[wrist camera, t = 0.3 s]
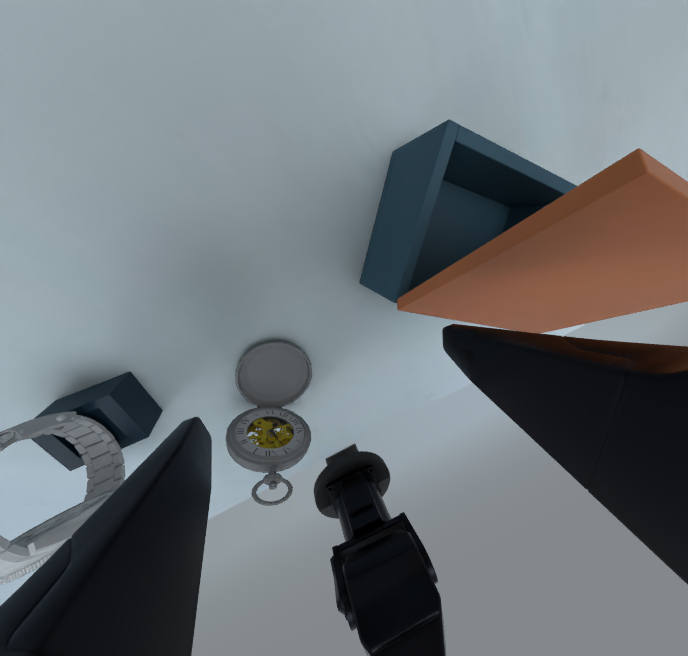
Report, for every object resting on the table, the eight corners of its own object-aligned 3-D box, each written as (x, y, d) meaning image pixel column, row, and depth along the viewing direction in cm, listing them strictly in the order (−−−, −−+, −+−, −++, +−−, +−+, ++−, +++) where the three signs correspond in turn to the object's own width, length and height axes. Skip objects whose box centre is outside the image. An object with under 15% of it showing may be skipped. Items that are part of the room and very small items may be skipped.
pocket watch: (293, 326, 23) (314, 390, 14) (326, 395, 27) (359, 481, 18) (204, 365, 22) (164, 461, 13) (250, 431, 25) (245, 542, 16)
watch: (111, 454, 22) (-9, 635, 12) (36, 383, 19) (-213, 555, 9) (176, 426, 23) (113, 574, 13) (116, 352, 19) (-31, 479, 10)
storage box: (392, 151, 20) (449, 118, 14) (513, 202, 25) (594, 194, 19) (359, 283, 23) (393, 302, 17) (472, 306, 28) (530, 327, 22)
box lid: (639, 146, 7) (648, 171, 6) (799, 259, 11) (807, 275, 11) (396, 299, 17) (397, 310, 17) (534, 325, 22) (536, 334, 21)
